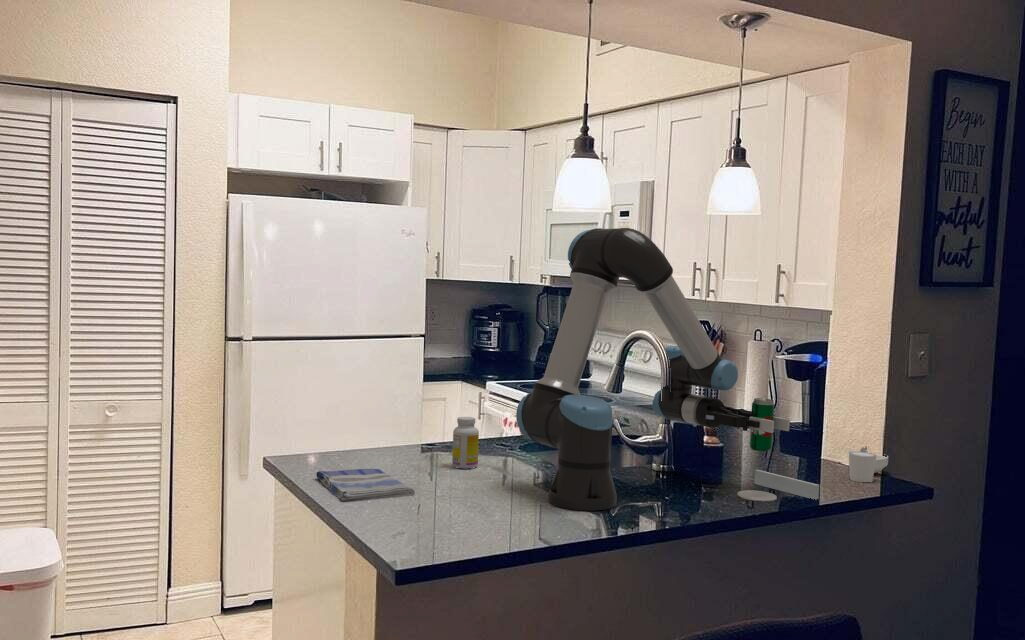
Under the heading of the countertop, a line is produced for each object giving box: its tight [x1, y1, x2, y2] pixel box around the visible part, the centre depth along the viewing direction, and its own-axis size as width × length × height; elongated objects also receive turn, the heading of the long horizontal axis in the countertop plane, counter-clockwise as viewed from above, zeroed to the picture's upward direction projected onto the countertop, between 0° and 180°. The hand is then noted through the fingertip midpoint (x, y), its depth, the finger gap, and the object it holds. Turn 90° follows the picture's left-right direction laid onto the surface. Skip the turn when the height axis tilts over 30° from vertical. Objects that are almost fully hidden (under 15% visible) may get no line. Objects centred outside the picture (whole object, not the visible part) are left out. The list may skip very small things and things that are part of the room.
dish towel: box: [315, 468, 416, 502], centre depth 204 cm, size 17×24×3 cm
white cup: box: [848, 451, 877, 483], centre depth 230 cm, size 7×7×7 cm
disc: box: [737, 489, 778, 503], centre depth 208 cm, size 9×9×1 cm
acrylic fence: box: [753, 469, 820, 501], centre depth 214 cm, size 18×1×4 cm, turn 36°
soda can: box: [749, 397, 775, 452], centre depth 207 cm, size 5×5×12 cm
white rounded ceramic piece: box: [847, 446, 889, 474], centre depth 240 cm, size 10×12×7 cm
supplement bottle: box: [451, 416, 480, 469], centre depth 228 cm, size 7×7×13 cm
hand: (780, 426), depth 203 cm, fingers closed on soda can, 5 cm apart
